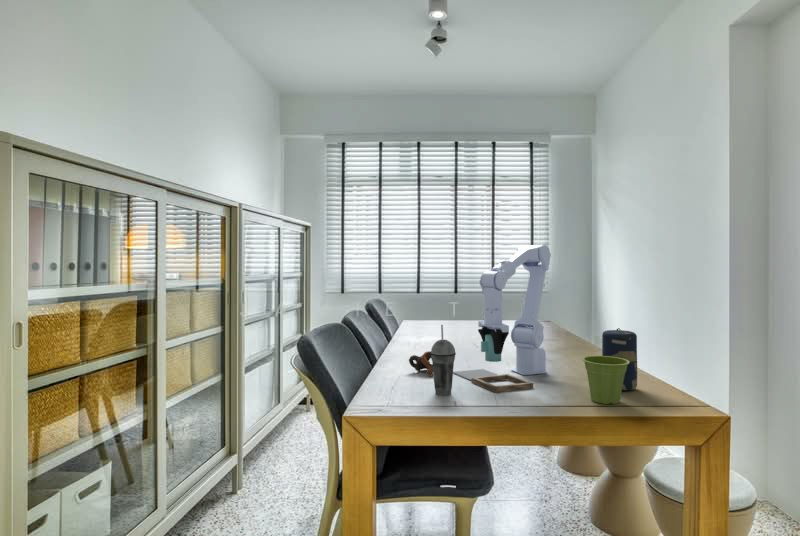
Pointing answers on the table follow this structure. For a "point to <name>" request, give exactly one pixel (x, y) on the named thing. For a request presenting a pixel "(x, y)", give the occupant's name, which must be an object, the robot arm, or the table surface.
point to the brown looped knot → (422, 362)
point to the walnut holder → (520, 385)
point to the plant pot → (605, 377)
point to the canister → (622, 353)
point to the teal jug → (489, 349)
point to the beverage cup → (443, 365)
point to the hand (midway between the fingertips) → (493, 352)
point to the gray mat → (474, 373)
